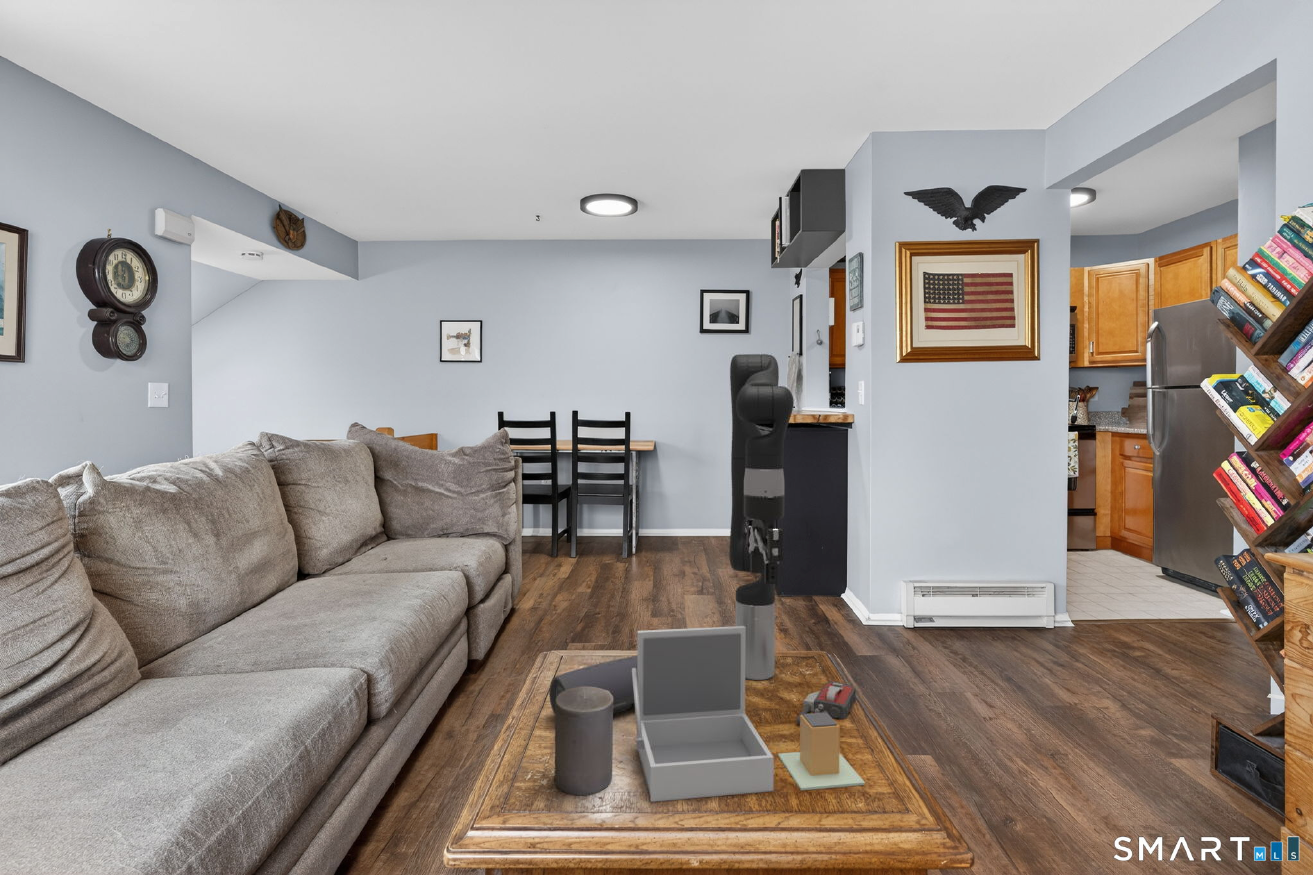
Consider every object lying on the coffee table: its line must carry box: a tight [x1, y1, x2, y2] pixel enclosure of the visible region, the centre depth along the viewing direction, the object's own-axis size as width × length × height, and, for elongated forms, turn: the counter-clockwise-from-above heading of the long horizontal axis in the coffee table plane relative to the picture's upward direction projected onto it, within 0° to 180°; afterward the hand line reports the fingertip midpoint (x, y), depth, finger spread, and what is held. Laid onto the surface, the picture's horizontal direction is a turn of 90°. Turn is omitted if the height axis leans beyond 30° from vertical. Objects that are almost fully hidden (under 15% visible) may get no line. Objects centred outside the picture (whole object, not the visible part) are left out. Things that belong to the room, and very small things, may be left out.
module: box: [799, 712, 841, 776], centre depth 111 cm, size 5×5×8 cm
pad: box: [777, 751, 866, 791], centre depth 111 cm, size 11×11×1 cm
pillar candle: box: [554, 686, 614, 796], centre depth 108 cm, size 10×10×15 cm
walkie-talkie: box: [795, 680, 857, 725], centre depth 134 cm, size 9×4×20 cm
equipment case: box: [632, 625, 775, 803], centre depth 111 cm, size 18×21×22 cm
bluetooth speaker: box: [548, 655, 637, 715], centre depth 133 cm, size 23×9×10 cm, turn 124°
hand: (763, 578), depth 122 cm, fingers open, 8 cm apart
